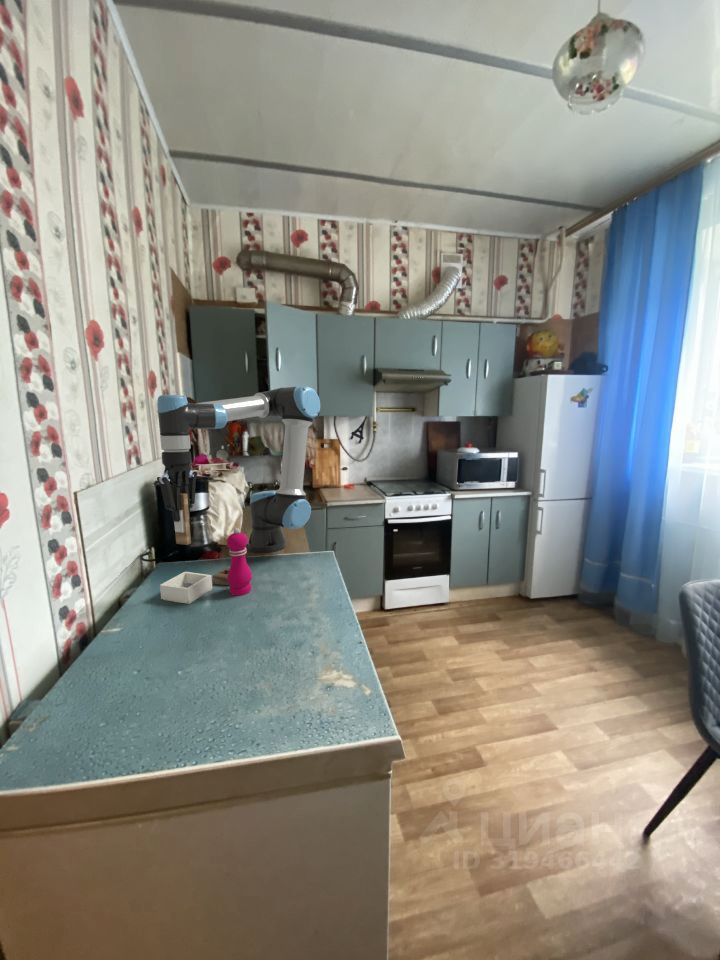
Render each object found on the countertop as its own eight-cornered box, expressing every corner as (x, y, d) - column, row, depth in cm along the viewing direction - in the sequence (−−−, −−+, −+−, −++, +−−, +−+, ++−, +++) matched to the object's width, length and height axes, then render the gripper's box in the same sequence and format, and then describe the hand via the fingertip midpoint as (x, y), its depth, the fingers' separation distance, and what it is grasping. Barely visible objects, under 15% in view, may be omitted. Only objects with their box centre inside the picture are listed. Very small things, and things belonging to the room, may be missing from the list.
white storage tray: (186, 584, 119) (185, 571, 118) (212, 588, 116) (211, 575, 115) (161, 599, 109) (159, 584, 109) (189, 604, 106) (187, 589, 106)
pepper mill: (256, 586, 117) (252, 524, 114) (247, 597, 110) (243, 532, 107) (234, 585, 118) (230, 524, 115) (223, 596, 111) (219, 531, 108)
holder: (227, 574, 126) (226, 567, 126) (244, 576, 124) (244, 569, 124) (213, 583, 120) (212, 575, 119) (231, 585, 118) (231, 578, 117)
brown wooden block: (180, 542, 111) (176, 492, 109) (191, 543, 110) (187, 493, 108) (176, 543, 110) (172, 493, 108) (187, 544, 109) (183, 494, 106)
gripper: (184, 448, 114) (190, 523, 117) (144, 452, 100) (152, 536, 104) (204, 449, 112) (209, 525, 115) (166, 453, 98) (174, 539, 101)
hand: (182, 530), depth 109 cm, fingers closed on brown wooden block, 1 cm apart
